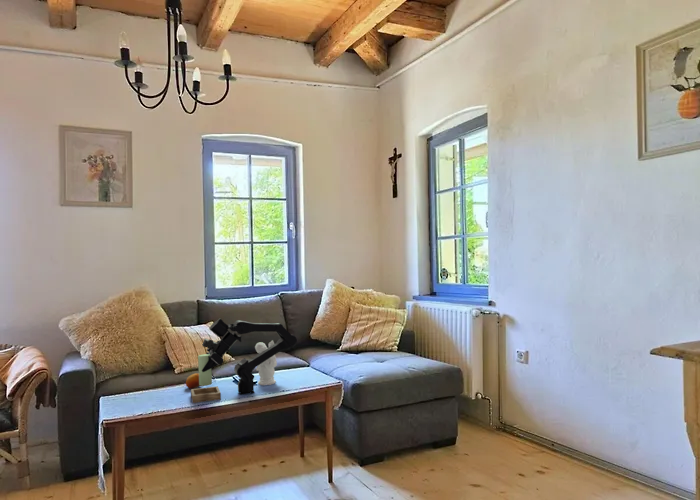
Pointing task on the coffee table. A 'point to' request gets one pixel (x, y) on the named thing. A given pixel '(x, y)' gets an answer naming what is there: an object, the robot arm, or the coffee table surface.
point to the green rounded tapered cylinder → (206, 376)
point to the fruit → (193, 381)
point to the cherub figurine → (266, 365)
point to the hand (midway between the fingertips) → (201, 370)
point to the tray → (205, 394)
